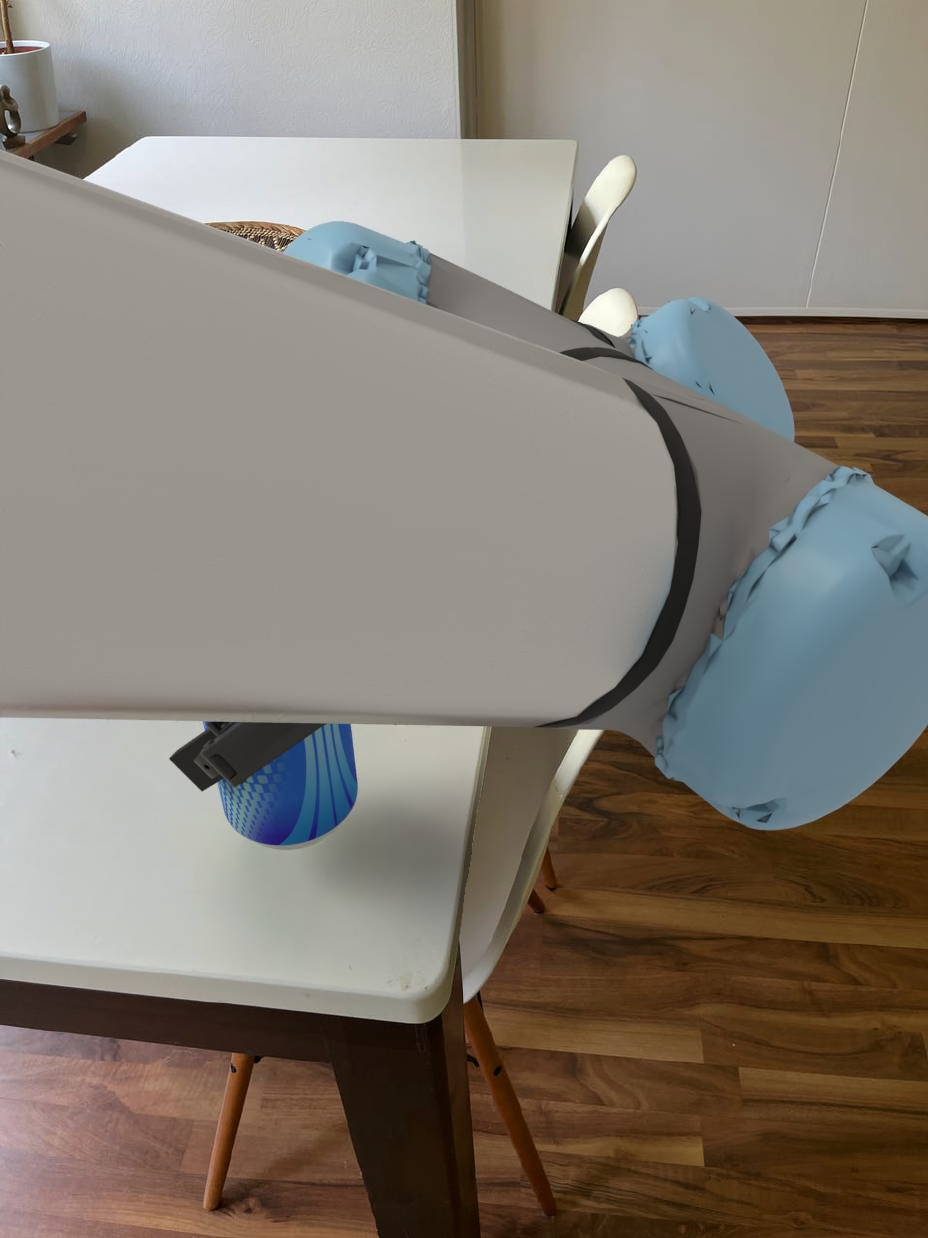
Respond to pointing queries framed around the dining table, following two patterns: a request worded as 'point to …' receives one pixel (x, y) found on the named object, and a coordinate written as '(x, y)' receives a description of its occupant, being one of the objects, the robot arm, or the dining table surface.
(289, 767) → the beer can
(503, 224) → the dining table surface
